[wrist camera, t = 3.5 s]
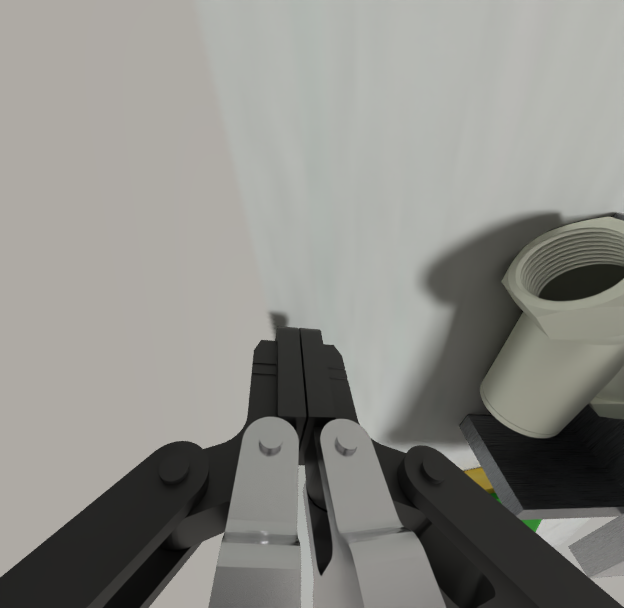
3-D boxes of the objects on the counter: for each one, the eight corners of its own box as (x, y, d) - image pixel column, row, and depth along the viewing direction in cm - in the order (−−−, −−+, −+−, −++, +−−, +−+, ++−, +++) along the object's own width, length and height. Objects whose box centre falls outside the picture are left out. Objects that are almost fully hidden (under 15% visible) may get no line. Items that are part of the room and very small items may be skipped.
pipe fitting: (488, 394, 16) (631, 328, 14) (532, 469, 13) (729, 403, 11) (408, 314, 13) (583, 202, 10) (444, 392, 10) (713, 260, 7)
